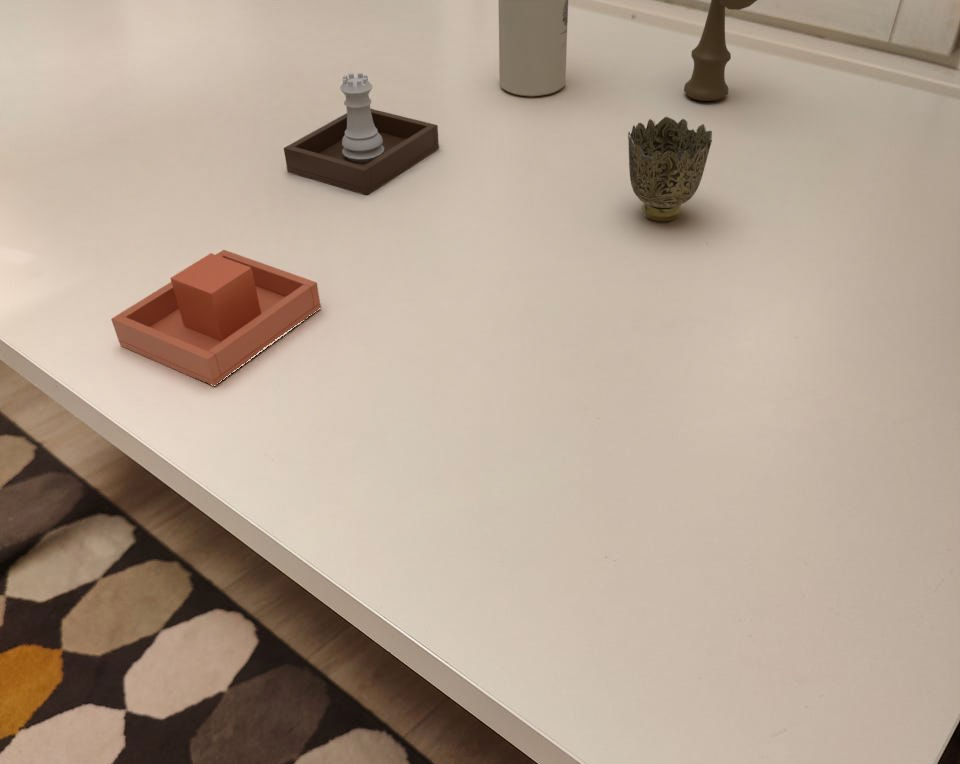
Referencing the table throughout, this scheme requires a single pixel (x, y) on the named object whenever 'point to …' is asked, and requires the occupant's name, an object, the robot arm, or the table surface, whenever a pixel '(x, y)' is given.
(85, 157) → the table surface
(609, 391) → the table surface
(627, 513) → the table surface
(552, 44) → the travel mug
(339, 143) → the walnut tray
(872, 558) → the table surface
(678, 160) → the cup
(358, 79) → the rook chess piece
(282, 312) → the terracotta tray
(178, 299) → the terracotta block
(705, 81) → the kendama
